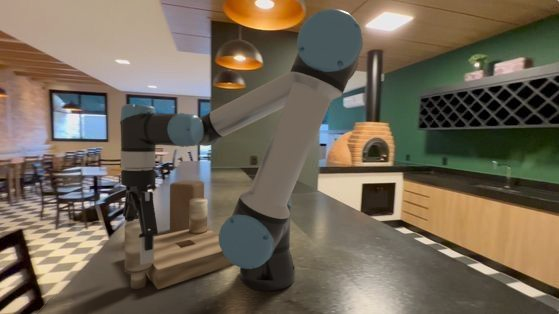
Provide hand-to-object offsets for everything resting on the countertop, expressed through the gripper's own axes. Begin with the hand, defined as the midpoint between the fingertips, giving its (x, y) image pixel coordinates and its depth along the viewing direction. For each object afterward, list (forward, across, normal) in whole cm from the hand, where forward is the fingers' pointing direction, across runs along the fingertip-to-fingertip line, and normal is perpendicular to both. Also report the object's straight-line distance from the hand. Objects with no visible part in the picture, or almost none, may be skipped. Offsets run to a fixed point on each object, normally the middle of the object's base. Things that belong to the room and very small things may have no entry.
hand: (138, 253), depth 68 cm
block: (+8, +31, -26) cm, 41 cm away
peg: (+8, 0, 0) cm, 8 cm away
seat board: (+8, +7, -15) cm, 18 cm away
